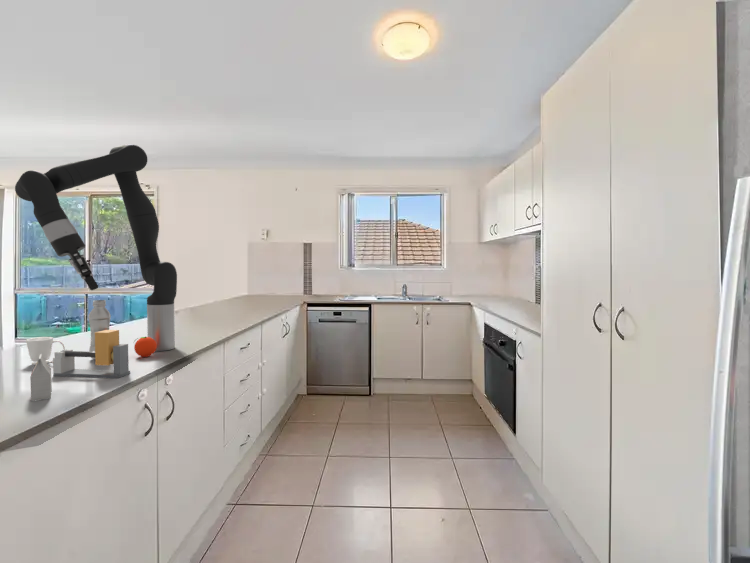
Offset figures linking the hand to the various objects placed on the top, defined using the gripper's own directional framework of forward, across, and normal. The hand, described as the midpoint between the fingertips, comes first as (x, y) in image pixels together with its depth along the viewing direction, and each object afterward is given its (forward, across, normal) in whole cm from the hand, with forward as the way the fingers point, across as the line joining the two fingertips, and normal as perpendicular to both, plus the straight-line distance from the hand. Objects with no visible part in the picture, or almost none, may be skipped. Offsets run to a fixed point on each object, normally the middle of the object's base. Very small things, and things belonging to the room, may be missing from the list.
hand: (95, 289), depth 127 cm
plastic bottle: (+21, +20, +8) cm, 30 cm away
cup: (+14, +23, +21) cm, 34 cm away
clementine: (+27, +16, -3) cm, 31 cm away
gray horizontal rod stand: (+23, -2, +12) cm, 26 cm away
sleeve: (+21, -6, +7) cm, 23 cm away
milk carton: (+21, -18, +23) cm, 36 cm away
